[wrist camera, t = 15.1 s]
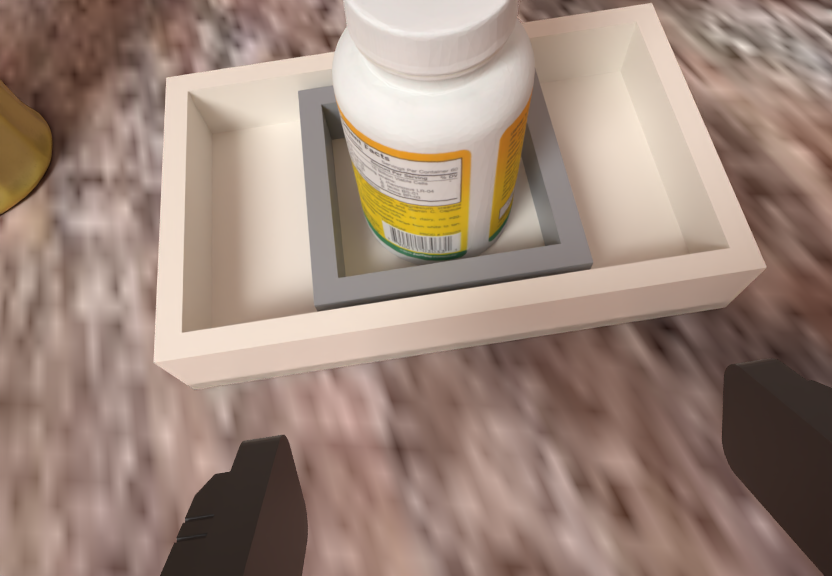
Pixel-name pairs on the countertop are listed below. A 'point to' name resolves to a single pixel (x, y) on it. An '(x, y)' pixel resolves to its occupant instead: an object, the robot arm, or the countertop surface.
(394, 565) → the countertop surface
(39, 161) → the vase
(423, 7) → the supplement bottle
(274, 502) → the robot arm
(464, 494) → the countertop surface
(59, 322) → the countertop surface
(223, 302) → the walled box
